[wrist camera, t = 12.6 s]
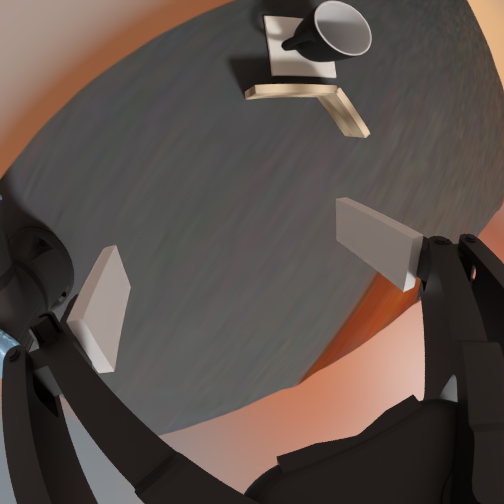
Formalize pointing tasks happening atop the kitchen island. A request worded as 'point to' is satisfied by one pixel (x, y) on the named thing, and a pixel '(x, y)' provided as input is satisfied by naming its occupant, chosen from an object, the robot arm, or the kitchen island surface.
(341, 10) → the mug
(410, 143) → the kitchen island surface
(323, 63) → the plate
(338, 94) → the wooden boomerang
